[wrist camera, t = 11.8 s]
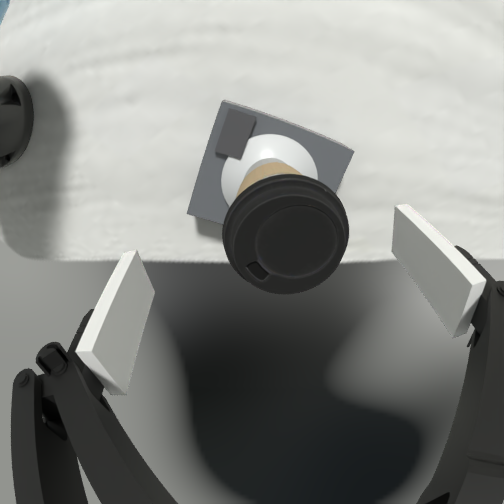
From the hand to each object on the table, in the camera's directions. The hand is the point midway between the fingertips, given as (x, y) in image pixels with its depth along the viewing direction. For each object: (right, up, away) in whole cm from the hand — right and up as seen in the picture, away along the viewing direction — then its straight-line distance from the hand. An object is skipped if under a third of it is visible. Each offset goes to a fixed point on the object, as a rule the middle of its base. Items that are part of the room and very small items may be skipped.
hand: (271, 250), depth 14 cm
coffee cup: (+1, +8, +19) cm, 21 cm away
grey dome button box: (+1, +11, +24) cm, 26 cm away
